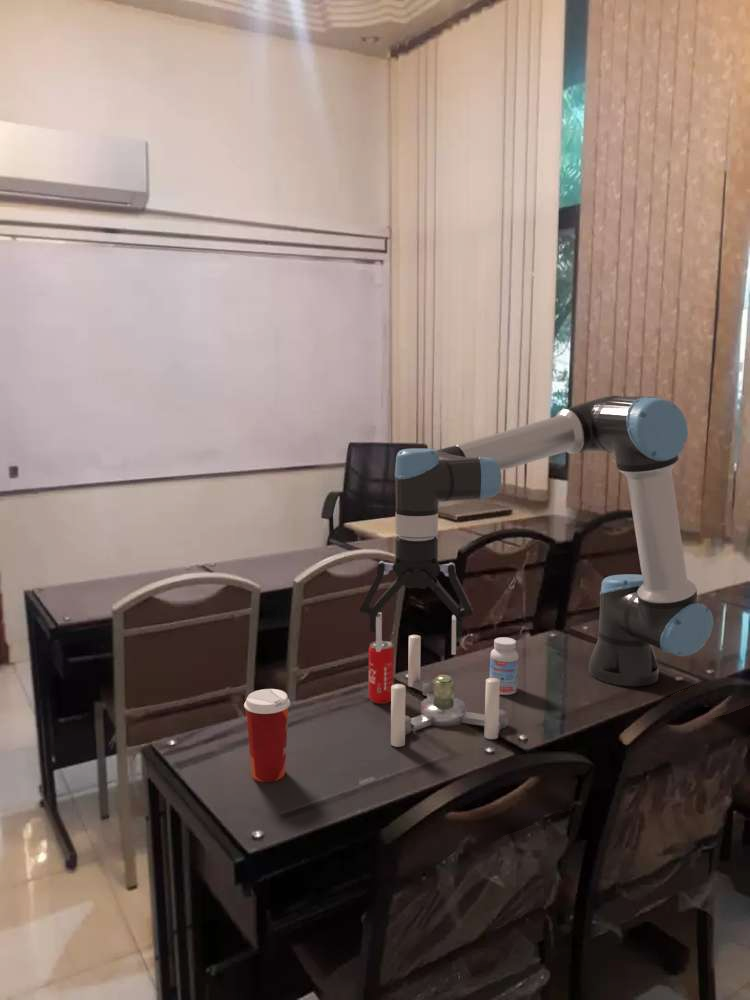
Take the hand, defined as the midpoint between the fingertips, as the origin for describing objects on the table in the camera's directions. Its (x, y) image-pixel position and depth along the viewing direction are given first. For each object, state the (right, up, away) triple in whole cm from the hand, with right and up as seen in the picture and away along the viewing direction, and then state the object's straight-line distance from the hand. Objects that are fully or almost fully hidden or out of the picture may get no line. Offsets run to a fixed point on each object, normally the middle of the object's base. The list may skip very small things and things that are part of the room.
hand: (416, 650), depth 142 cm
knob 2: (+15, -17, +8) cm, 24 cm away
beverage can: (-6, -15, +22) cm, 27 cm away
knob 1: (-3, -17, +5) cm, 18 cm away
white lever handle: (+3, -14, +27) cm, 30 cm away
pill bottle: (+20, -14, +27) cm, 37 cm away
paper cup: (-26, -20, -8) cm, 33 cm away
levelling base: (+6, -16, +16) cm, 23 cm away
